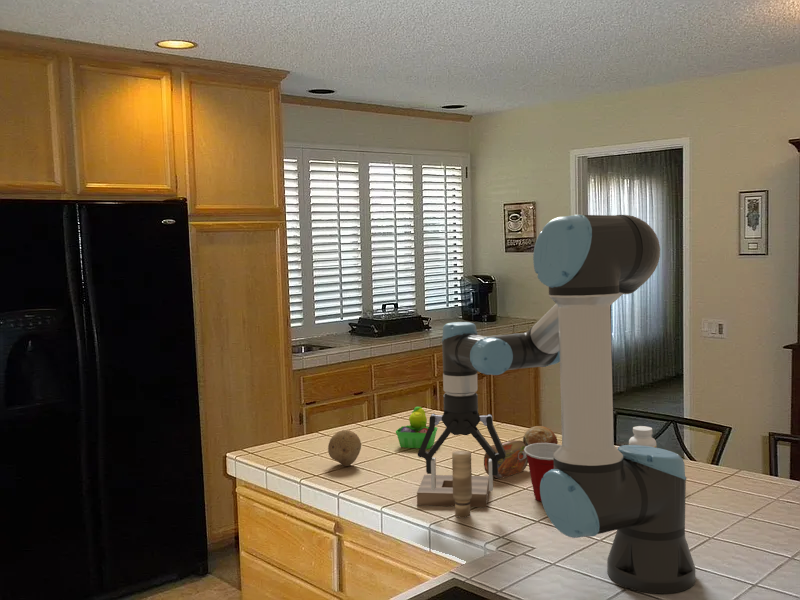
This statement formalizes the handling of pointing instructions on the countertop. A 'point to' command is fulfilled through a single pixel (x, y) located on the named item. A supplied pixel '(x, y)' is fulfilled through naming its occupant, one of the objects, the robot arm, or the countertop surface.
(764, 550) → the countertop surface
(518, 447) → the tin
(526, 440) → the bread roll
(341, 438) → the natural sponge
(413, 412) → the fruit basket
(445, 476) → the board
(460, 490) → the peg
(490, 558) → the countertop surface
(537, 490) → the plastic cup
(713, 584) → the countertop surface
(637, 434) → the supplement bottle
